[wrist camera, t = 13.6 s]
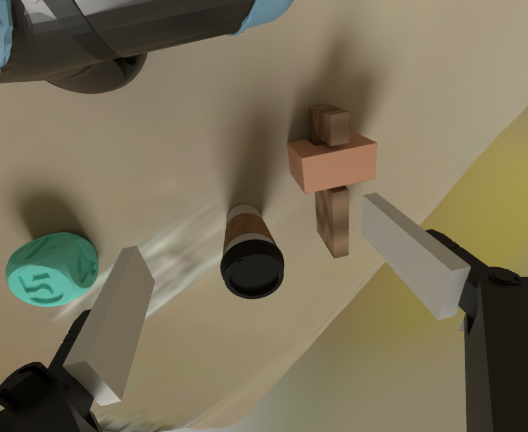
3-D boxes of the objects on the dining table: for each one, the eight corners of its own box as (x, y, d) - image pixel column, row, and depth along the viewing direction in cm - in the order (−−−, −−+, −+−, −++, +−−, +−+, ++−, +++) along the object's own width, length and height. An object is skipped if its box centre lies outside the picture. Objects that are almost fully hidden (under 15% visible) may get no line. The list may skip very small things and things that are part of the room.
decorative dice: (83, 227, 42) (57, 259, 35) (104, 266, 46) (85, 301, 39) (30, 236, 41) (-8, 270, 34) (56, 275, 45) (27, 312, 38)
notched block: (290, 173, 43) (305, 193, 36) (287, 143, 40) (302, 158, 33) (349, 161, 43) (375, 178, 36) (349, 130, 41) (377, 142, 34)
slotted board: (309, 106, 38) (329, 115, 31) (325, 103, 38) (349, 111, 31) (317, 231, 49) (334, 258, 42) (329, 229, 49) (348, 255, 42)
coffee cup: (252, 188, 43) (268, 239, 30) (276, 224, 47) (299, 284, 34) (209, 213, 44) (206, 274, 31) (236, 247, 48) (243, 313, 35)
